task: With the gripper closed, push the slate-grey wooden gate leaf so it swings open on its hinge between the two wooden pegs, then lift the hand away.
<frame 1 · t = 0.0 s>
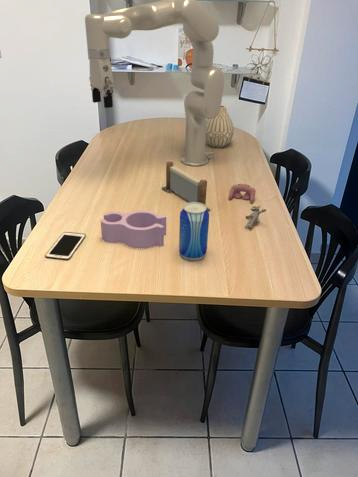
hand: (102, 104, 147), 31 cm above the table, tool pointing down, fingers open, 9 cm apart
cell phone: (66, 247, 122), on the table
clip: (134, 238, 127), on the table
beer can: (192, 254, 120), on the table
vase: (217, 145, 208), on the table
gate leaf: (184, 185, 148), point 6 cm above the table, hinge at 0.0°
video game controller: (241, 199, 153), on the table
wooden pegs: (184, 199, 151), on the table
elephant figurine: (254, 224, 136), on the table
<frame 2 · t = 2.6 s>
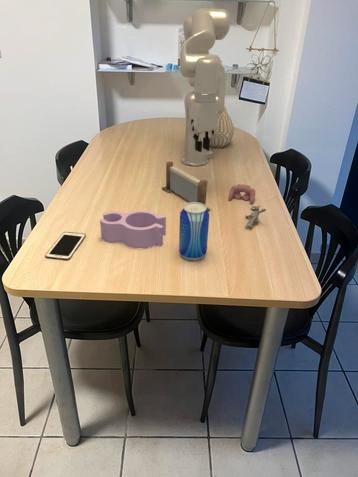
hand: (202, 149, 143), 19 cm above the table, tool pointing down, fingers closed
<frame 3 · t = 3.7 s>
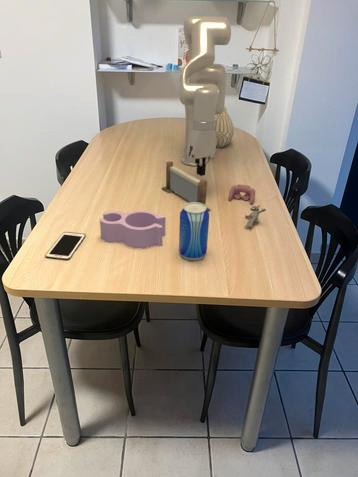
hand: (200, 174, 148), 10 cm above the table, tool pointing down, fingers closed
nothing on the table moved.
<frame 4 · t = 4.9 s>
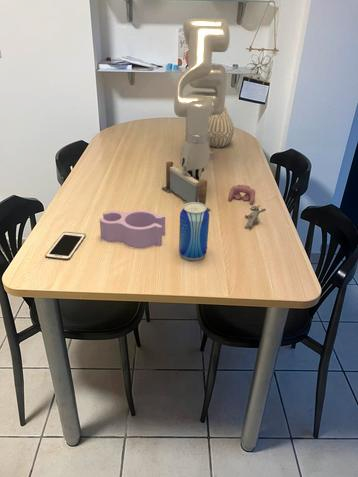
hand: (194, 185, 149), 6 cm above the table, tool pointing down, fingers closed
gate leaf: (183, 185, 148), point 6 cm above the table, hinge at 3.0°, touching gripper
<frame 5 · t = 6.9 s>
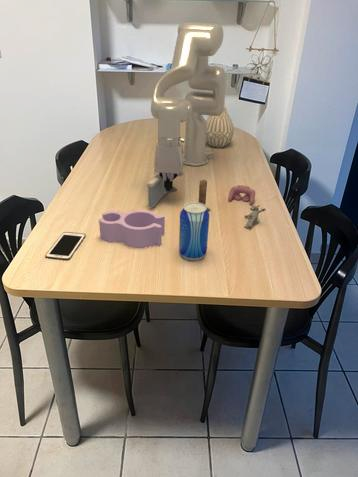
hand: (168, 189, 145), 6 cm above the table, tool pointing down, fingers closed
gate leaf: (159, 186, 147), point 6 cm above the table, hinge at 55.3°, touching gripper
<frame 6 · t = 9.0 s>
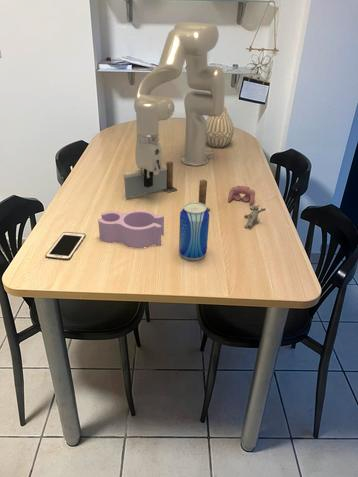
hand: (148, 186, 147), 6 cm above the table, tool pointing down, fingers closed
gate leaf: (146, 181, 151), point 6 cm above the table, hinge at 93.8°, touching gripper
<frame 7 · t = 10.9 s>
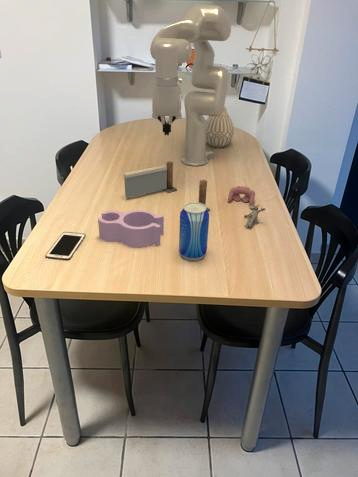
hand: (166, 134, 145), 23 cm above the table, tool pointing down, fingers closed
gate leaf: (146, 181, 151), point 6 cm above the table, hinge at 93.8°
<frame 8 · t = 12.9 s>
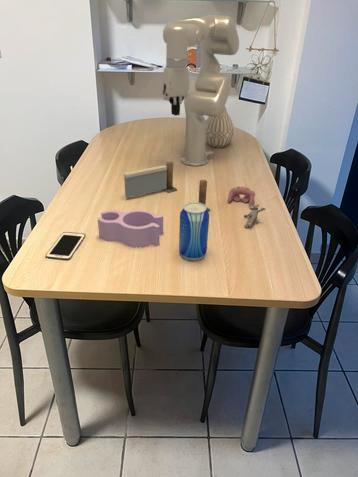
hand: (175, 114, 154), 27 cm above the table, tool pointing down, fingers closed
at the end: gate leaf at +94° (first picture: +0°) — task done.
